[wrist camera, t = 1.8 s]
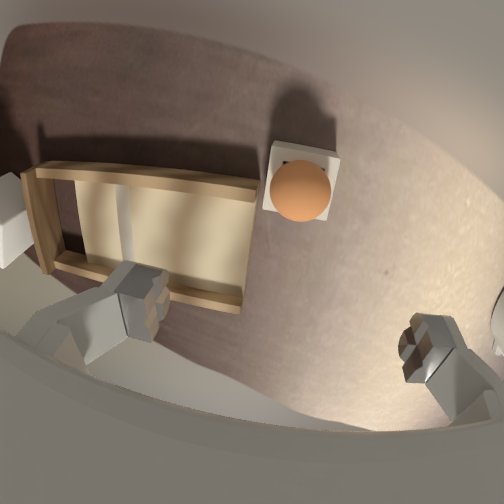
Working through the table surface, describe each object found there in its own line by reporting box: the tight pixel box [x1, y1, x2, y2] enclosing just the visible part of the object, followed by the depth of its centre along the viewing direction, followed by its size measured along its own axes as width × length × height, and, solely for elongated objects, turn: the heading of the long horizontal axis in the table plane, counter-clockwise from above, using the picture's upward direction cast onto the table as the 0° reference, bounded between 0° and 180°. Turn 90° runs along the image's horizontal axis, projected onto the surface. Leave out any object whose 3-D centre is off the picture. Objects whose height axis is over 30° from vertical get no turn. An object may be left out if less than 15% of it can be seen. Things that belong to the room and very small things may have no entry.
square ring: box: [263, 140, 340, 221], centre depth 21 cm, size 5×5×2 cm
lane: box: [20, 161, 260, 315], centre depth 25 cm, size 23×12×4 cm, turn 83°
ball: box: [270, 160, 331, 221], centre depth 19 cm, size 4×4×4 cm
